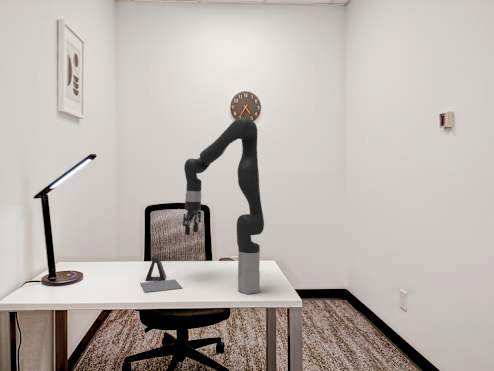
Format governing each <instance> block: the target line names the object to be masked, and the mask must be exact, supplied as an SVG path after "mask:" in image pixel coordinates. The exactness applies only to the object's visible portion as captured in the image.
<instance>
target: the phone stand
mask: <svg viewBox="0 0 494 371" xmlns="http://www.w3.org/2000/svg"><path fill="white" fill-rule="evenodd" d="M156 257H157V258H156ZM155 264H156V265H157V270H158V273H159V274H158V275H159V276H153V272H154V271H153V270H154V268H155ZM166 278H167V274H166V271H165V269H164V266H163V264H162V261H161V254H160V252H158V253H157V252H154V254H153V256H152V258H151V264H150V267H149V269H148V272H147V275H146V277H145V280H144V281H145V282H154V281H163V280H166Z"/></svg>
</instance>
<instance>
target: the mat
mask: <svg viewBox="0 0 494 371" xmlns="http://www.w3.org/2000/svg"><path fill="white" fill-rule="evenodd" d="M140 286H141V288H142V290H143V292H144V293H145V294H146V293H156V292H166V291H172V290H173V291H174V290H180V289H181V290H183V286H182V285H180V284H179V282H178V281H177V279H165V280H163V281H145V282H144V281H143V282H140Z"/></svg>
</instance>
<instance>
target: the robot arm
mask: <svg viewBox="0 0 494 371" xmlns="http://www.w3.org/2000/svg"><path fill="white" fill-rule="evenodd" d="M257 126H258V125H257V124H256V122H254V121H253V120H251V119H249V118H245V117H238V118H236V119H234V121H232V122H231V123H230V124H229V125H228V127H227V128H226V129H225V130H224V131H223V133H221V134H220V135H219V136H218V138H216V139H215V140H214V141H213V142H212V143H211V144H210V145H208V147H206V148H205V149H203V150H202V151H201V152H200V154H199V158H187V159H186V161H185V162H184V168H183V169H184V176H185V179H186V191H185V199H184V200H185V201H184V203H185V204H184V210H185V211H187V212H186V213H183V216H182V217H183V218H182V227H184V229H185V230H184V235H185V236H190V234H191V225H192V224H193V225H192V226H193V228H192V231H193V233H198V232H199V225H200V223H202V220H201V219H202V211H201V207H202V180H201V179H200V178H198V174H201V173H204V172H205V171H206V170H207V169H208V168H209V166H210V165H211V164H212V163H214V162H215V161H216V160H218V159H219V158H221V156H222V155H223V154H225V151H226V149H227V148H228V146H230V144H232V143H233V142H235V141H237V140H241V147H242V150H241V152H242V153H241V157H240V160H239V163H238V166H237V182H238V183H237V184H238V187H239V189H240V191H241V192H242V194H243V196H244V197H245V199H246V201H247V203H248V207H249V213H248V214H247V213H245V214H241V215H239V216H238V218H237V220H236V243H237V244H236V245H237V247H238V258H237V262H238V263H237V264H238V265H237V267H238V268H237V292H240V293H243V294H245V295H250V294H258V293H260V276H261V272H260V260H261V259H260V258H261V257H260V256H261V254H260V252H261V249H260V248H261V247H260V246H261V245H260V244H258V243H257V242H254V241H252V236H256V235H257V236H258V235H261V234H263V231H264V228H265V219H264V214H263V207H262V206H263V205H262V200H261V192H260V175H259V174H260V173H259V164H258V127H257Z"/></svg>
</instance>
